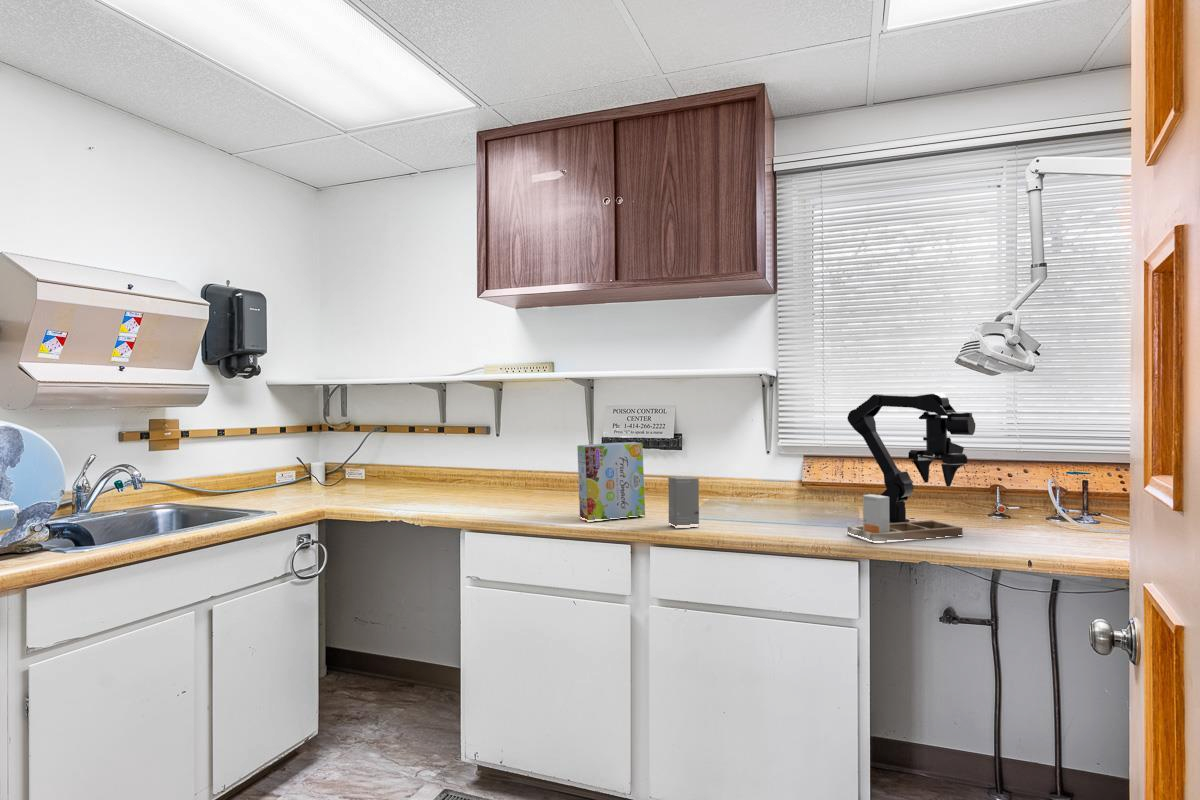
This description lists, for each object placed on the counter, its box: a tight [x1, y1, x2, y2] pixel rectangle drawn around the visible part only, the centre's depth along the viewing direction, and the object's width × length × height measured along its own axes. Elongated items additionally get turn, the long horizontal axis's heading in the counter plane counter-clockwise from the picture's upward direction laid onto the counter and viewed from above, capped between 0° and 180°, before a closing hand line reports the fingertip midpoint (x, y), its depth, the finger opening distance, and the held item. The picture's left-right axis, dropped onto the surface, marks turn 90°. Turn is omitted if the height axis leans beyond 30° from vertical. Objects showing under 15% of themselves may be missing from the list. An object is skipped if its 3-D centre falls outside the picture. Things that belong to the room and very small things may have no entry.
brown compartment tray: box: [846, 519, 964, 541], centre depth 193 cm, size 12×30×2 cm, turn 104°
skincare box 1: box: [667, 476, 700, 526], centre depth 211 cm, size 8×7×16 cm
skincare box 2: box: [862, 494, 890, 533], centre depth 191 cm, size 6×4×12 cm
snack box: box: [576, 441, 646, 520], centre depth 227 cm, size 22×9×26 cm, turn 113°
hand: (937, 484), depth 206 cm, fingers open, 9 cm apart
